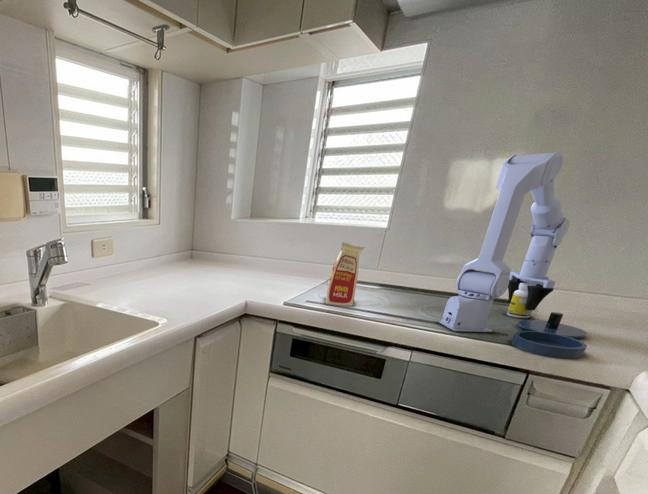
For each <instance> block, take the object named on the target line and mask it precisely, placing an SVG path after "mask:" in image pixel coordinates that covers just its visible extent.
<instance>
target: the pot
mask: <svg viewBox="0 0 648 494" xmlns="http://www.w3.org/2000/svg"><path fill="white" fill-rule="evenodd" d="M511 345H512V346H513V347H515V348H517V349H520V350H522V351H524V352H527V353H531V354H534V355H540V356H544V357H550V358H556V359H569V360H570V359H572V360H573V359H580V358H582V357H583V355H584V354H585V352H586V351H587V350H586V349H587V348H588V344H587V343H585V342H584V341H581V340H580V339H579V340H578V338H570V337H567V336H563V335H558V334H553V333H547V332H538V331H528V330H520V331H516V332H514V334H513V336H512V338H511Z"/></svg>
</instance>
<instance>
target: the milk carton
mask: <svg viewBox="0 0 648 494" xmlns="http://www.w3.org/2000/svg"><path fill="white" fill-rule="evenodd" d="M365 248H366V247H365V246H359V245H353V244H350V243H348V242H345V241H341V248H340V252H338V256H337V258H336V259H335V262H334V264H333V266H332V268H331V269H332V270H331V273H330V276H329V279H328V283H327V290H326V297H325V305H332V306H353V304H354V303H355V295H356V294H355V293H356V288H357V283H358V275H359V263H360V255H361V254H362V252H363V250H364V249H365Z"/></svg>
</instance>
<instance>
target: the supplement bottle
mask: <svg viewBox="0 0 648 494" xmlns="http://www.w3.org/2000/svg"><path fill="white" fill-rule="evenodd" d="M527 286H536V284H532V283H520V285H519V290H516V291H515V292H514V293H513V296H512V299H511V302H510V304H509V305H508V308H507V312H506V315H507V316H509V317H512V318H517V319H528V318H530V317H531V315H532V312H533V310H525V306H526V302H527V298H528V288H527Z"/></svg>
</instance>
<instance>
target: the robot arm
mask: <svg viewBox="0 0 648 494" xmlns="http://www.w3.org/2000/svg"><path fill="white" fill-rule="evenodd" d="M563 163H564V156H563V154H562V153H561V152H560V151H555V152H546V153H545V152H544V153H543V152H542V153H530V154H529V153H528V154H512V155H510V156H509V157H508V158H507V159H506V160H505V161H504V162H503V163H502V165H501V167H500V171H499V173H498V177H497V181H496V184H495V190H498V191H499V192H498V195H497V199H496V202H495V205H494V208H493V211H492V214H491V217H490V220H489V223H488V227H487V230H486V233H485V236H484V239H483V243H482V246H481V250H480V252H479V256H478V257H477V258H476V259H473V260H471V261H469V262H467V263H465V264H464V265H463V266H462V268H461V271H460V273H459V275H458V276H457V277H456V281H455V288H456V291H457V292H458V293H457V294H458V295H454V296H451V297H449V298H448V300H447V302H446V304H445V306H444V311H443V314H442V317H441V320H440V321H439V322H438V323H439V324H440V325H442V326H444V327H446V328H448V329H450V330H452V331H454V332H468V333H469V332H471V333H492V332H493V330H492V329H490V328H488V327H486V325H487V322H488V320H489V316H490V313H491V310H492V307H493V304H494V301H495V300H496V299H499V298H500V297H502V296H503V295H504V294H505V293H506V291H508V300H507V303H508V304H509V305H510V302H511V299H512V296H513V293H514V292H515V291H516V290H519V285H520V283H532V284H536V286H527V288H528V298H527V302H526V306H525V310H532V311H535V310H536V309H537V307H538V306H539V305H540V303H541V302H542V301H543V300H544V299H545V298H546V297H547V296H548V295H549V294H550V293H552V292H553V291H554V289H555V285H556V280H553V279H551V278H550V277H549V276H548V275H547V274H548V272H549V270H550V266H551V264H552V261H553V259H554V256H555V253H556V250H557V248H558V246H560V245H561V243H562V241H563V239H564V237H565V236H566V235H567V233H568V231H569V229H570V220H569V219H567V217H565V216H564V214H563V207H562V201H561V199H560V198H559V197H558V196H555V179H556V178H557V176H558V175H559V173H561V169H562V167H563ZM528 193H531V196H532V199H533V201H534V202H533V203H532V204H531V206H530V212H531V217H532V221H531V223H530V230H529V235H530V237H531V241H530V243H529V246H528V249H527V252H526V255H525V257H524V260H523V263H522V266H521V269H520V271H512V269H511V268H510V266H509V265H507V264H506V262H505V261H504V259H505V255H506V252H507V248H508V246H509V244H510V240H511V237H512V235H513V231H514V228H515V226H516V222H517V220H518V216H519V213H520V210H521V207H522V204H523V201H524V198H525V196H526V195H527V194H528Z"/></svg>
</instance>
